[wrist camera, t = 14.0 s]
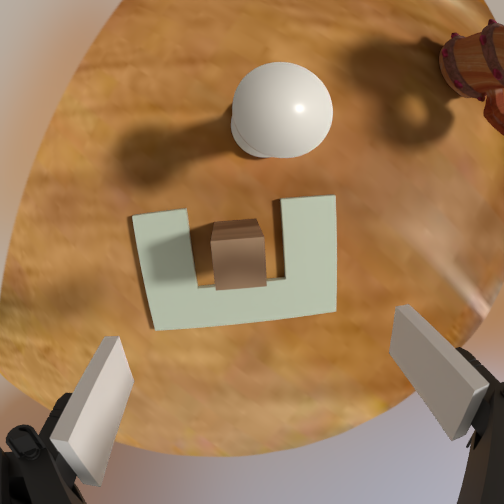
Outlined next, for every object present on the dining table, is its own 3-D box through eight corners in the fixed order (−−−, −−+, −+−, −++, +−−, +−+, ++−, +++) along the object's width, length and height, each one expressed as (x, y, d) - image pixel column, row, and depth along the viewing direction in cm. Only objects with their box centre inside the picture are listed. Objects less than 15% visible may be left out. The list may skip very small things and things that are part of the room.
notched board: (134, 214, 33) (131, 216, 33) (333, 194, 34) (335, 195, 34) (156, 327, 38) (155, 330, 37) (334, 308, 38) (336, 311, 38)
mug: (420, 39, 29) (496, 6, 15) (460, 37, 29) (533, 13, 14) (455, 145, 33) (542, 152, 19) (491, 134, 33) (571, 139, 19)
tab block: (214, 221, 34) (210, 241, 27) (256, 218, 35) (264, 236, 27) (218, 261, 36) (215, 290, 28) (258, 258, 36) (266, 286, 28)
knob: (228, 96, 31) (228, 64, 19) (294, 92, 31) (327, 62, 19) (234, 160, 33) (237, 161, 21) (299, 155, 33) (336, 155, 21)
